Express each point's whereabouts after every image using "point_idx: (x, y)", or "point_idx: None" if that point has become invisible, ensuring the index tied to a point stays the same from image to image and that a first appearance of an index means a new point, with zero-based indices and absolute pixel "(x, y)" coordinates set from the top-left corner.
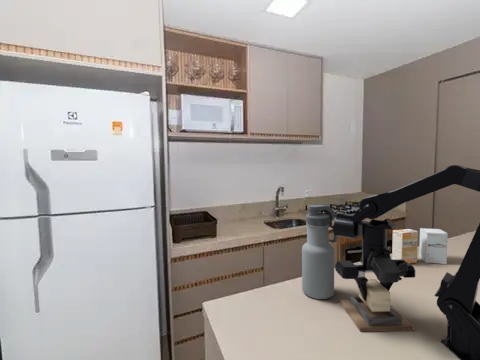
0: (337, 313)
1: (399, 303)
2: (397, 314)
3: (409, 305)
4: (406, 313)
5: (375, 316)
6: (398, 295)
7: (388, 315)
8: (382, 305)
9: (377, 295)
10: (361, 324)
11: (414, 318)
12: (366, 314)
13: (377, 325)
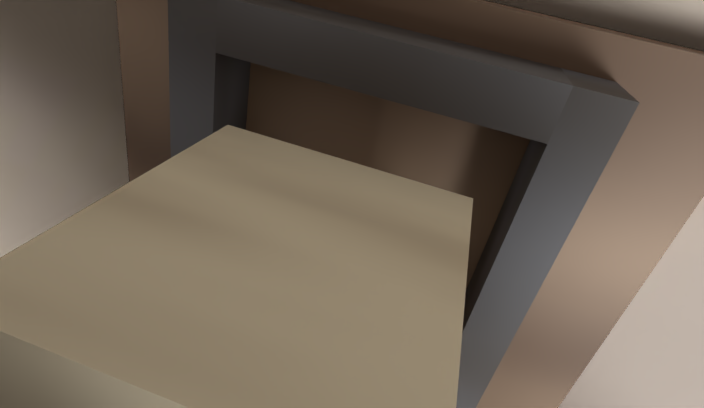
0: (673, 382)
1: None
2: (154, 147)
3: (13, 229)
4: (76, 162)
5: None
6: None
7: None
8: (294, 192)
9: (312, 363)
10: (688, 127)
11: (47, 87)
12: (545, 209)
13: (500, 46)
